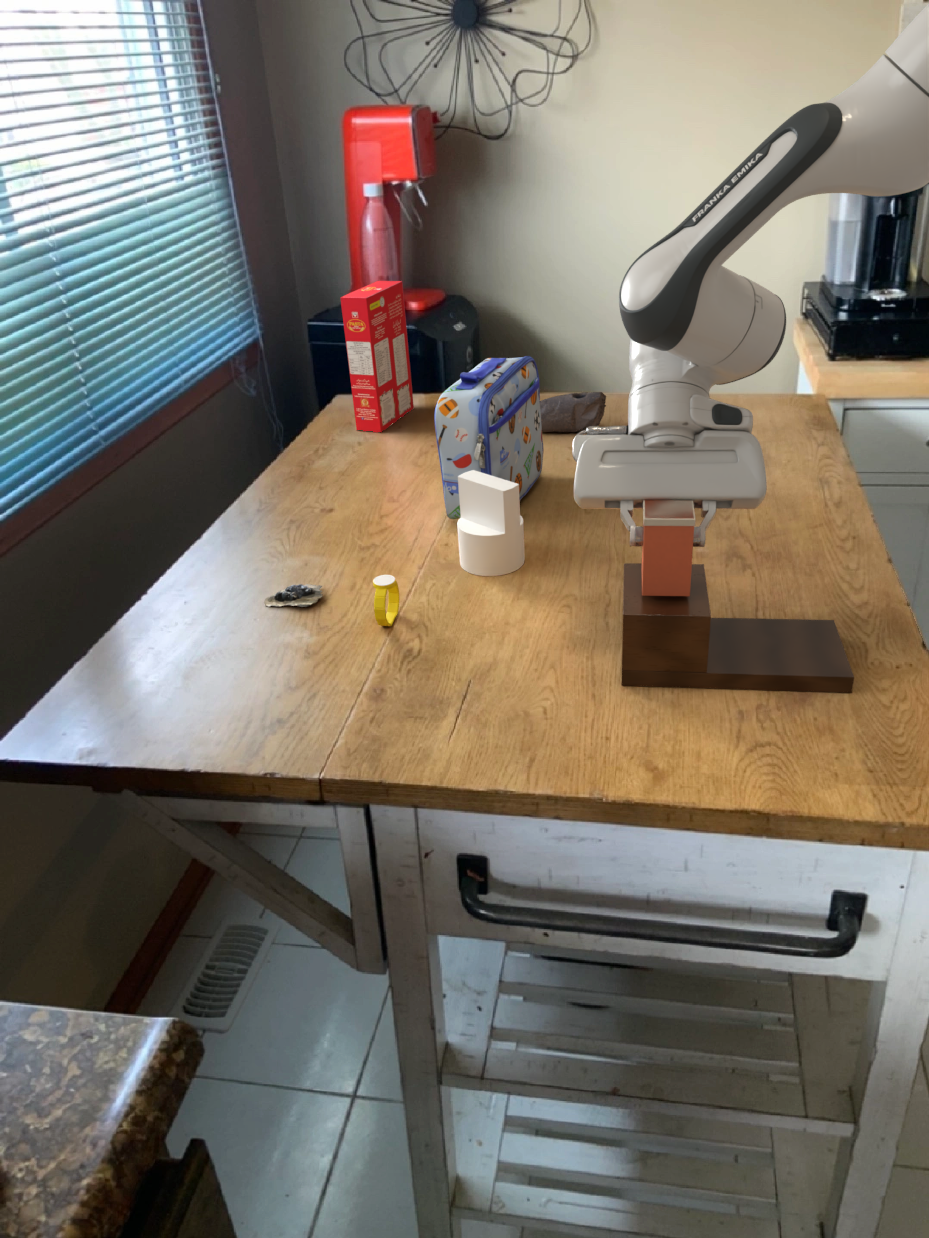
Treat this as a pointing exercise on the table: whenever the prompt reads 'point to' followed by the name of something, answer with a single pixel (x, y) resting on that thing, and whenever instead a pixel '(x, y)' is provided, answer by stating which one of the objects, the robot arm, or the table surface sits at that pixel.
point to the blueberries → (295, 596)
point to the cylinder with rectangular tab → (489, 525)
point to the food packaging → (378, 354)
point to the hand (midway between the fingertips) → (667, 545)
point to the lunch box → (490, 426)
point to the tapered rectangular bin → (667, 547)
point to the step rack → (724, 645)
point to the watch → (381, 586)
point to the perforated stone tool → (572, 411)
